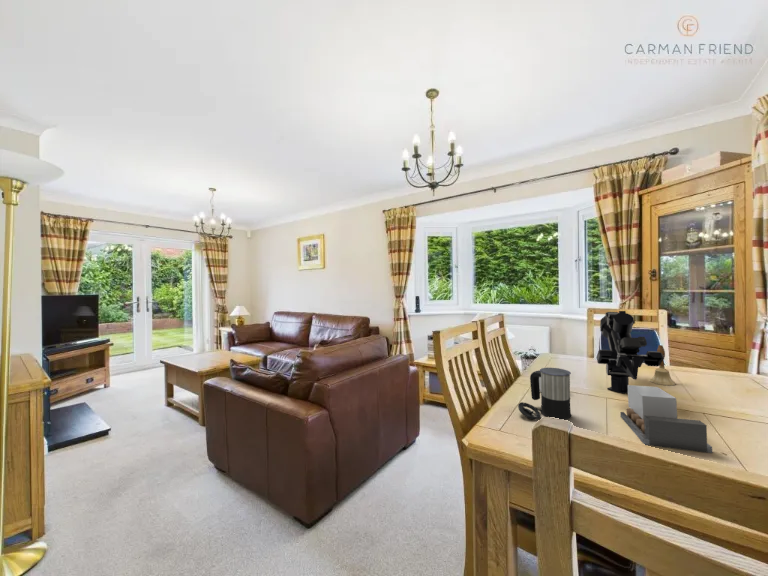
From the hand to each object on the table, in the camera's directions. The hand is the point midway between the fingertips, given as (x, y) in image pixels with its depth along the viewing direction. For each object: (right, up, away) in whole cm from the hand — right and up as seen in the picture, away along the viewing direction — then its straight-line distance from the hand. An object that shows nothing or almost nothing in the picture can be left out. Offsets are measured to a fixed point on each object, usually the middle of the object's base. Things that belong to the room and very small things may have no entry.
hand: (635, 379), depth 109 cm
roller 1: (-3, -10, -9) cm, 14 cm away
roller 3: (-6, -10, -17) cm, 21 cm away
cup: (-18, -11, +20) cm, 29 cm away
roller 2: (-5, -10, -13) cm, 17 cm away
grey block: (-4, -8, -11) cm, 14 cm away
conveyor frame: (-6, -11, -17) cm, 21 cm away
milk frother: (-32, -12, -2) cm, 34 cm away
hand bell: (+33, -9, +27) cm, 44 cm away
